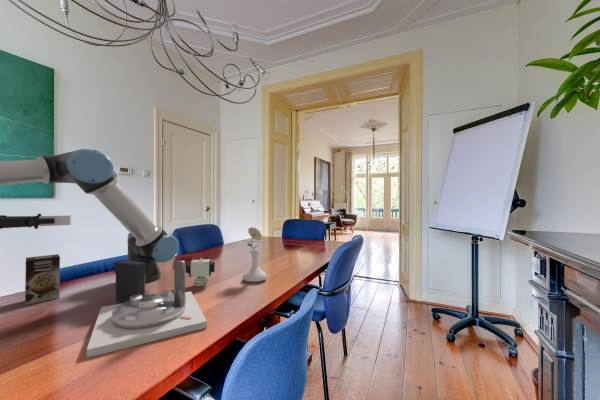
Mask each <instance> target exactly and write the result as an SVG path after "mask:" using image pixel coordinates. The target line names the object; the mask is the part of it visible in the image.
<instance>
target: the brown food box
mask: <svg viewBox="0 0 600 400" xmlns="http://www.w3.org/2000/svg"><path fill="white" fill-rule="evenodd" d="M60 266H61V256H60V254H59V253H58V254H49V255H40V256H39V255H38V256H30V257H29V256H28V257H26V258H25V278H24V280H25V281H24V282H25V283H24V284H25V285H24V305H26V306H27V305H32V304H38V303H43V302H47V301H53V300H57V299H60V284H61V283H60V282H61V281H60V280H61V276H60V275H61V267H60Z"/></svg>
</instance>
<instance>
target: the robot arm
mask: <svg viewBox="0 0 600 400" xmlns="http://www.w3.org/2000/svg"><path fill="white" fill-rule="evenodd" d="M118 177H119V175H118V174H117V173H116V172H115V171H114V164H113V162H112V159H111V158H110V157H109V156H108V155H107V154H106V153H104V152H101V150H100V151H99V150H96V149H92V148H91V149H89V148H81V149H77V150H73V151H68V152H64V153H59V154H54V155H48V156H47V155H46V156H43V155H42V156H38V157H36V158H35V159H27V160H25V159H24V160H23V159H22V160H21V159H20V160H7V161H6V160H2V161H1V160H0V186H7V185H18V184H26V183H27V184H28V183H39V182H41V183H43V184H46V185H47V184H76V185H77V186H78V187H79V188H80V189H81V191H83V193H84V194H86V195H93V196H95V198H96V199H98V200H99V202H100V203H101V204H102V205H103V206H104V207H105V208H106V210H108V211H109V212H110V213H111V214H112V215H113V217H114V218H115V219H116V220H118V221H119V222H120V224H121V225H122V226H123V227H124V228H125V229H126V230H127V231H128V232H129V233H128V234H127V240H126V241H127V260H129V261H138V262H144V263H145V284H147V283H151V282H154V281H157V280H159V279H161V272H162V271H161V269H160V266H159V265H158V264H159V263H167V262H170V261H171V260H172V259H173V258H174V257H176V255H177V254H178V251H179V246H180V245H179V241H178V239H177V238H176V237H175V236H173V235H172V234H168V233H167V232H166V231H165V229H164V228H163V227H162V226H159V225H155V223H153V221H152V220H151V219H150V218H149V217H148V216H147V215H146V213H145V212H144V211H143V210H142V208H140V206H139V205H138V203H136V202H135V200H133V198H132V197H131V196H130V195H129V193H127V191H125V189H124V188H123V186H122V185H121V184H120V183H119V182H118ZM71 225H72V215H69V214H68V215H42V213H37V215H24V216H23V215H21V216H19V215H18V216H16V215H15V216H14V215H11V216H7V215H5V214H3V215H1V214H0V230H2V229H11V228H14V229H15V228H32V227H33V228H34V230H37V229H39V227H47V226H48V227H52V226H53V227H55V226H71Z"/></svg>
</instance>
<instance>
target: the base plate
mask: <svg viewBox="0 0 600 400" xmlns="http://www.w3.org/2000/svg"><path fill="white" fill-rule="evenodd" d="M185 295H186V309H185V311H184V312H183V313H182V314H181V315H180V316H178V317H177V318H175V319H173V320H171V321H168V322H166V323H163V324H160V325H156V326H152V327H147V328H139V329H124V328H119V327H116V326H115V325H113V323H112V308H113V306H118V305H120V304H121V303H117V304H110V305H106V306H101V307H100V310H99V313H98V316H97V319H96V321H95V324H94V328H93V330H92V333H91V337H90V339H89V341H88V345H87V348H86V358H91V357H95V356H99V355H104V354H108V353H112V352H116V351H119V350H124V349H128V348H131V347H132V348H133V347H135V346H139V345H144V344H148V343H151V342H155V341H160V340H163V339H168V338H172V337H175V336H180V335H182V334H186V333H191V332H192V333H193V332H196V331H199V330H204V329H207V328H208V320H207V319H206V316H205V314H204V313H203V311H202V309H201V307H200V306H199V304H198V302H197V300H196V298H195V296H194V294H193V293H192V291H185Z"/></svg>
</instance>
